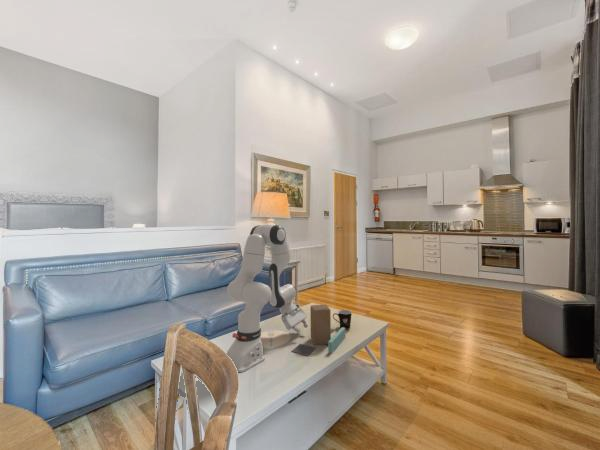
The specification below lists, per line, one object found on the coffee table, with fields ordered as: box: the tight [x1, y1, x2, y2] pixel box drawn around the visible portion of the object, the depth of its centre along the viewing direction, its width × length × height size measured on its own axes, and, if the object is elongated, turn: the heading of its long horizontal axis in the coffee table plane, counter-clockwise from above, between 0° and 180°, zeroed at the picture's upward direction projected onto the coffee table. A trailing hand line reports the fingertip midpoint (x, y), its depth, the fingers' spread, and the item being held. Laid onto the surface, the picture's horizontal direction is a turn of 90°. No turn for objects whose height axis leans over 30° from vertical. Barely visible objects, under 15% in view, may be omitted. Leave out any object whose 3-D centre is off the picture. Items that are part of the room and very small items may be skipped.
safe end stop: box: [327, 327, 346, 355], centre depth 155 cm, size 22×2×6 cm, turn 152°
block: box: [309, 304, 332, 346], centre depth 160 cm, size 10×10×20 cm
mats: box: [290, 328, 335, 357], centre depth 162 cm, size 38×10×1 cm, turn 152°
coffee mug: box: [332, 309, 352, 330], centre depth 182 cm, size 12×9×10 cm
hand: (303, 329), depth 165 cm, fingers open, 8 cm apart
